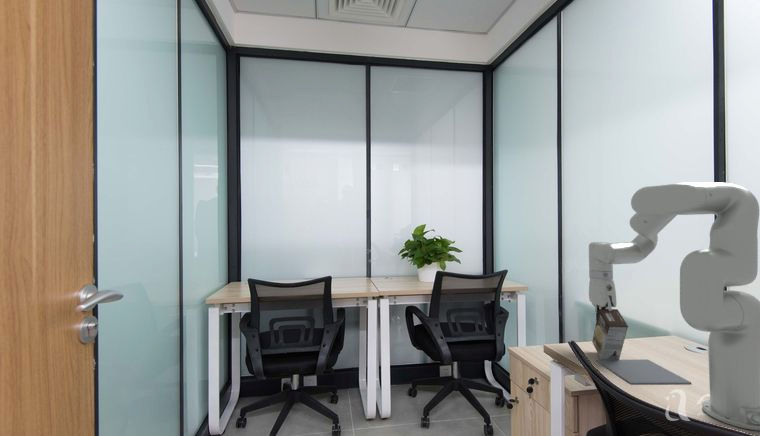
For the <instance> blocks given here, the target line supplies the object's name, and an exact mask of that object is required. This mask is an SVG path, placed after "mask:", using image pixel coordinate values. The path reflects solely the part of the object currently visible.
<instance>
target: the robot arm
mask: <svg viewBox="0 0 760 436" xmlns="http://www.w3.org/2000/svg"><path fill="white" fill-rule="evenodd" d="M630 206H631V209H632V211H634V212H635V213H634V214H633V216H631V218H630V219H629V226H630V227H631V228H632V230H633V231H634V232H635V233H637V234H638V235H636V237H634V238H633V239H632V240H631V241H630V242H629V241H628V242H624V241H623V242H608V241H607V242H606V241H592V242H590V243H589V244H588V275H589V276H588V279H589V283H588V284H589V285H588V299H589V301H590V302H591V305H592V306H593V307H594V311H595V316H596V317H595V322H596V321H597V316H598V311H599V309H607V310H608V311H612V309H613V308H616V307H617V292H616V286H615V285H616V284H615V281H614V272H613V271H614V270H613V269H614V265H626V264H629V265H630V264H637V263H640V262H642V261H643V260H644V259H646V258H647V257H648V256H649V255H650V254H651V253H652V252H653V251H654V250H655V249H656V247H657V245H658V241H659V240H658V239H659V238H658V237H659V236H658V234H659V233H660V232H661V231H662V230H663V229H665V227H666V226H668V225H669V223H671V222H672V221H673V220H674V219H675V218H676V217H677V216H678V215H679V216H681V215H683V216H688V215H690V216H691V215H715V216H716V218H715V220H714V221H713V223H712V225H711V227H710V230H709V231H710V232H709V247H708V248H707V249H706V248H705V249H704V248H703V249H698V250H697V249H696V250H694V251H691V252H690V253H688V254H686V255H685V257H684V258H683V259H682V261H681V263H680V267H679V308H680V313H681V316H682V318H683V320H684V321H685V322H686V323H687V325H688V326H689V327H691V328H693V329H695V330H697V331H700V332H706V333H709V337H708V340H707V341H708V343H707V344H708V345H707V346H708V347H707V348H708V349H707V351H708V352H707V353H708V377H709V399H708V400H704V401H703V402H702V403H701V405H702V410H703V411H704V412H705V413H706V414H707V415H709V416H711V417H712V418H714V419H716V420H718V421H720V422H722V423H725V424H727V425H729V426H730V425H731V426H734V427H737V428H740V429H746V430H751V431H760V300H759V299H758V298H757V297H755V296H754V295H752V294H750V293H748V292H744V291H740V290H724V289H725V288H730V287H741V286H746V285H750V284H752V283H753V282H754V281H755V280H756V279H757V276H758V269H759V268H758V265H759V264H758V263H759V261H758V260H759V259H758V258H759V255H758V254H759V253H758V251H759V249H758V248H759V246H758V245H759V241H758V240H759V239H758V229H759V222H760V221H759V219H760V205H759V202H758V199H757V198H756V196H755V195H754V194H753V193H752V192H751V191H750V190H749V189H747V188H745V187H743V186H741V185H738V184H734V183H729V182H717V181H716V182H714V181H713V182H712V181H710V182H709V181H707V182H678V183H677V182H676V183H668V184H660V185H651V186H650V185H649V186H645V187H641V188H639V189H637V190H636V191H635V193H634V194H633V195H632V197H631V199H630Z"/></svg>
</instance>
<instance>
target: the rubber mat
mask: <svg viewBox="0 0 760 436" xmlns="http://www.w3.org/2000/svg"><path fill="white" fill-rule="evenodd" d="M595 361H596V362H597V363H598V364H600V365H601V366H603V368H606V369H607V370H609V371H610V372H612V373H613V374H614V375H616V376H618V377H619V378H621V379H622V380H624V381H625V382H627V383H628V384H629V385H692V382H691V381H689V380H688V379H686V378H683V377H682V376H680V375H678V374H677V373H674V372H672V371H671V370H668V369H667V368H665V367H663V366H662V365H659V364H657V363H656V362H653V361H651V360H649V359H619V360H601V359H596V360H595Z"/></svg>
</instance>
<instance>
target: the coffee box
mask: <svg viewBox="0 0 760 436" xmlns="http://www.w3.org/2000/svg"><path fill="white" fill-rule="evenodd" d="M628 328H629V325H628V323H627V322H626V320H625V319H624V317H623V315H622V314H621V312H620V311H619V309H617V308H612V311H608V310H607V309H599V311H598V316H597V321H596V320H595V326H594V331H593V336H592V341H591V342H592V344H593V346H594V349H595V350H596V352H597V355H598V357H599V360H621V359H620V358H621V355H622V352H623V351H622V350H623V347H624V343H625V339H626V336H627V332H628Z"/></svg>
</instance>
